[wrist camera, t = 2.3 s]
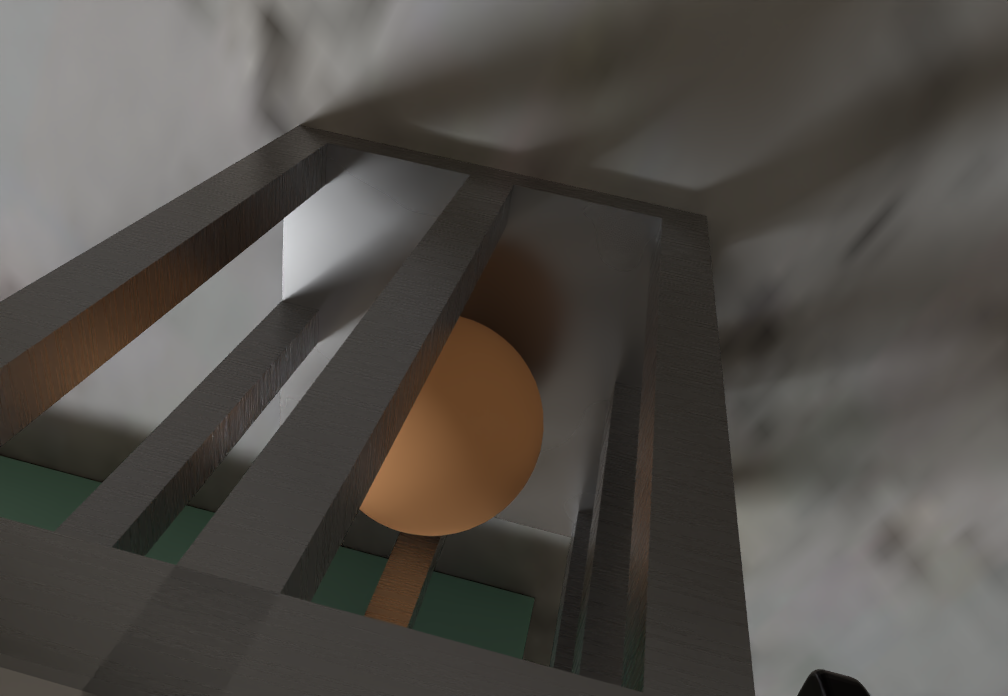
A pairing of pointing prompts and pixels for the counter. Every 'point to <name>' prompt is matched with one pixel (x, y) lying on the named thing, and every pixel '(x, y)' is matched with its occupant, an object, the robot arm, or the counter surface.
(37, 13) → the counter surface
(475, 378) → the ball
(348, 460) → the cage
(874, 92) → the counter surface
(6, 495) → the tray
